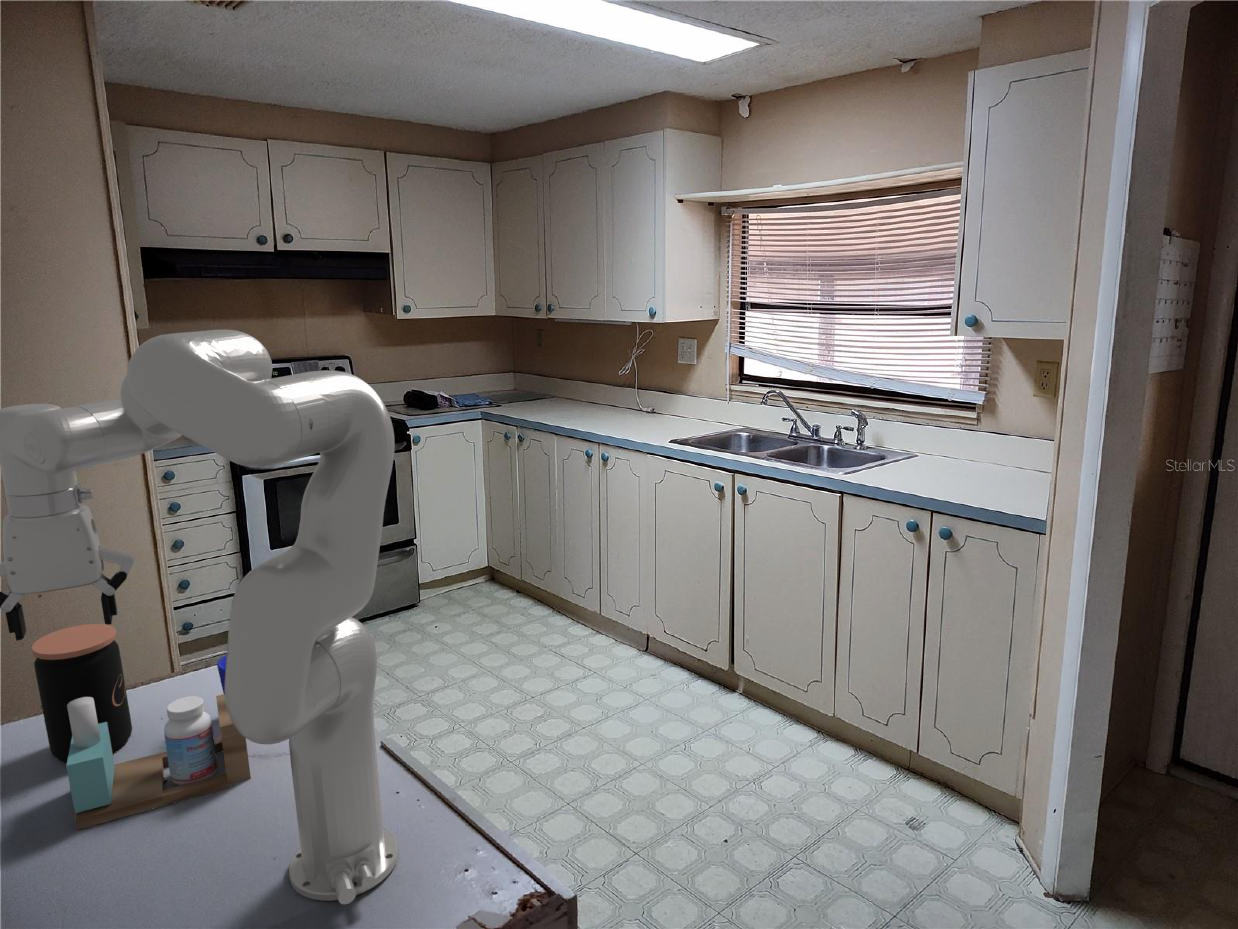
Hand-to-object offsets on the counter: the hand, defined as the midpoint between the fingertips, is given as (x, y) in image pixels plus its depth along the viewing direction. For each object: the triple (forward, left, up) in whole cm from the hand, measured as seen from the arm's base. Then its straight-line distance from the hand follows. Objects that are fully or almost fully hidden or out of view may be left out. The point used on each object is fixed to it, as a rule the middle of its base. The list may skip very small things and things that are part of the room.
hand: (66, 628), depth 108 cm
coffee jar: (+16, +1, -26) cm, 30 cm away
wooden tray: (0, -9, -25) cm, 27 cm away
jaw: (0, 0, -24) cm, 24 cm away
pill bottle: (0, -12, -26) cm, 28 cm away
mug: (+15, -23, -26) cm, 37 cm away
